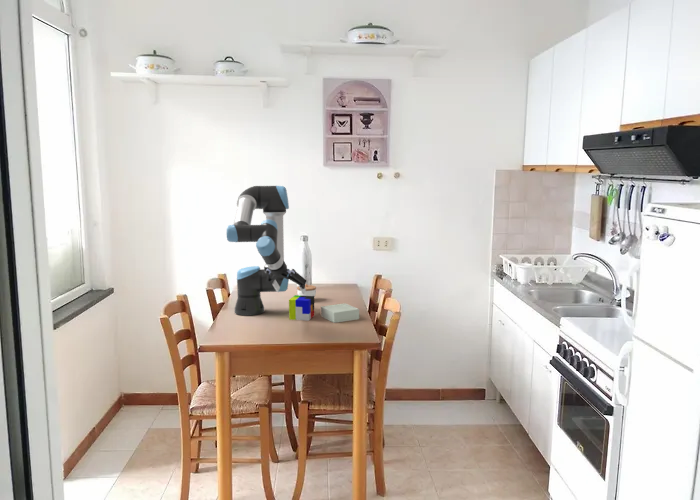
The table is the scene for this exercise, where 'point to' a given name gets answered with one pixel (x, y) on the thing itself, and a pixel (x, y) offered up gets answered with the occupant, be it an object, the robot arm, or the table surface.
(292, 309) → the puzzle toy
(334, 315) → the pedestal
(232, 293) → the table surface
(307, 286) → the lidded jar
